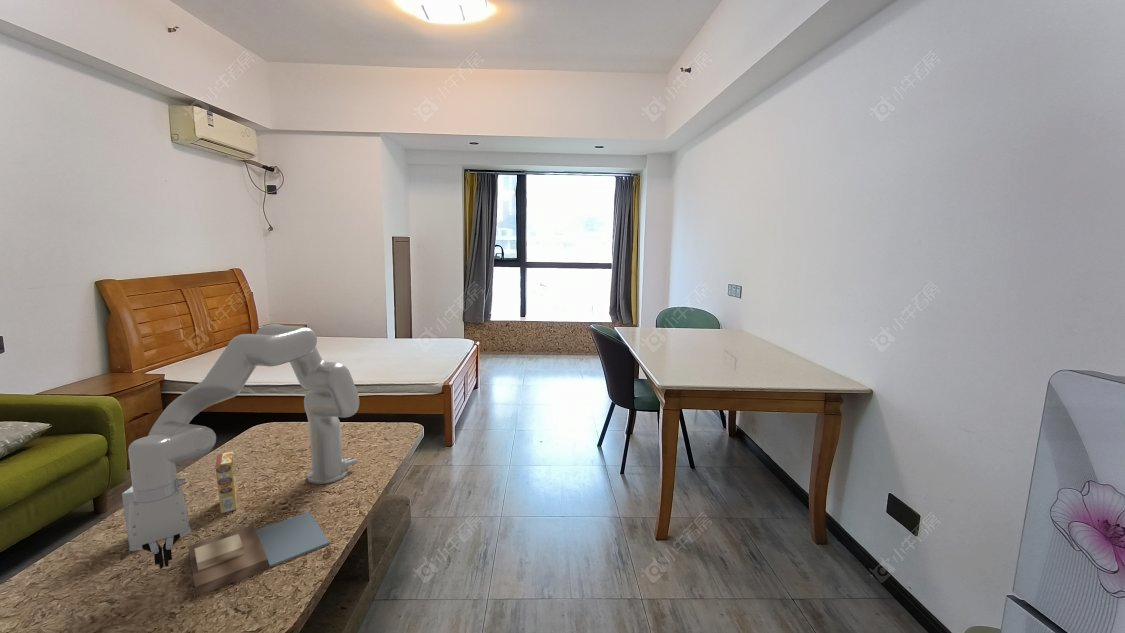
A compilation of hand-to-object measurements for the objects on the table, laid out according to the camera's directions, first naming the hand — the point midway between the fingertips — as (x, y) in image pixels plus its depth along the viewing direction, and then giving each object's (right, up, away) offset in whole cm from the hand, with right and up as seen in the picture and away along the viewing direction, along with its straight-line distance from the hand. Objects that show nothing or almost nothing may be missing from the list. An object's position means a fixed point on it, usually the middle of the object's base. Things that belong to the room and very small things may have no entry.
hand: (164, 564), depth 106 cm
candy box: (-9, 0, +34) cm, 35 cm away
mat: (+19, -3, +18) cm, 26 cm away
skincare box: (-20, -2, +19) cm, 27 cm away
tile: (+7, -2, +7) cm, 11 cm away
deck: (+8, -4, +9) cm, 13 cm away
